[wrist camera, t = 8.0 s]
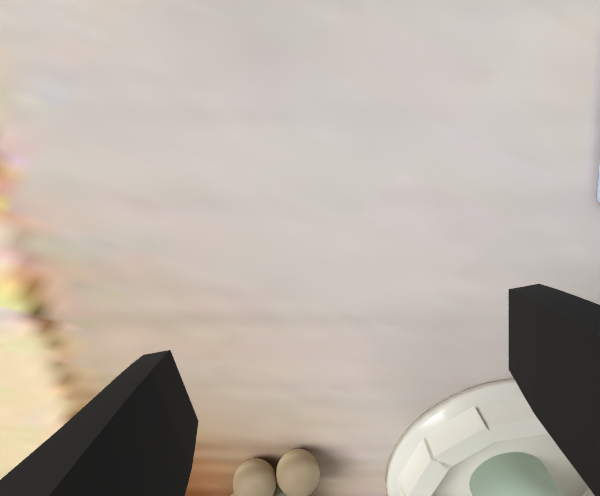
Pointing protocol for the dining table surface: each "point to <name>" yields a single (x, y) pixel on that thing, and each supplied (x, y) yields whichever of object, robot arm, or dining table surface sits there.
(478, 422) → the round bowl
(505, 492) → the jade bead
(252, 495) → the bead pile
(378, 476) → the dining table surface
